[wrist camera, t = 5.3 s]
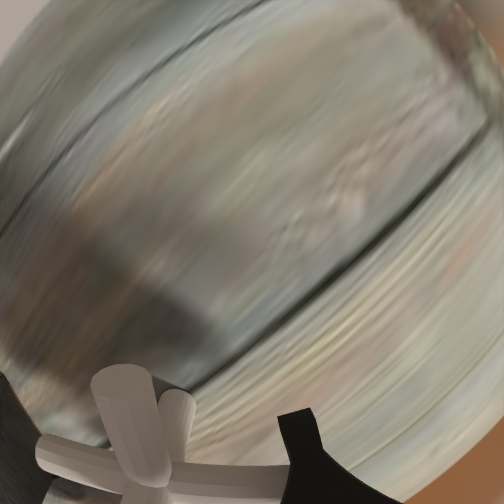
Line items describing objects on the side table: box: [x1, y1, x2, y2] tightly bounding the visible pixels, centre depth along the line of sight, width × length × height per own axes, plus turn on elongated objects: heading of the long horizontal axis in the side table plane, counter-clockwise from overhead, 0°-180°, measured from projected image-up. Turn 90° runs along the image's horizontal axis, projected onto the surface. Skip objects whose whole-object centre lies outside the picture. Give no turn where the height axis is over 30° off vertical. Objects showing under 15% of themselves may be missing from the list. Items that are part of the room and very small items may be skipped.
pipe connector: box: [35, 364, 290, 504], centre depth 9 cm, size 10×10×10 cm
